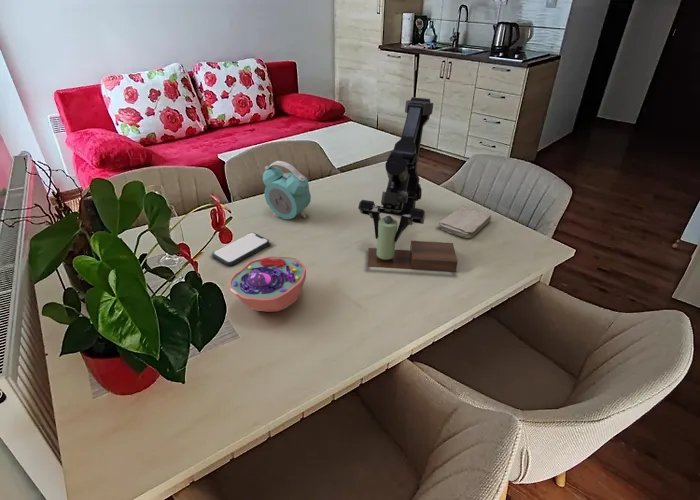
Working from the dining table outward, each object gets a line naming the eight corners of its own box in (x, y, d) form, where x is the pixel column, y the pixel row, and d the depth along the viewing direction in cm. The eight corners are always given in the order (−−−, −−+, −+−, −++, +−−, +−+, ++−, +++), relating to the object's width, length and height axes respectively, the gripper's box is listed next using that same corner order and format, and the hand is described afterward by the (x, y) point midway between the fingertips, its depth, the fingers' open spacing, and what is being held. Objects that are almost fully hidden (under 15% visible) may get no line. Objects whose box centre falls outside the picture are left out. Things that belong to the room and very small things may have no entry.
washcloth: (436, 229, 145) (437, 221, 144) (459, 210, 158) (461, 202, 156) (469, 241, 140) (470, 233, 138) (490, 220, 152) (492, 213, 150)
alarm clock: (316, 216, 151) (315, 162, 140) (299, 227, 144) (297, 171, 133) (278, 203, 158) (274, 151, 147) (260, 213, 151) (255, 159, 141)
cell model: (322, 299, 113) (321, 263, 107) (258, 337, 101) (254, 299, 95) (282, 271, 123) (279, 237, 117) (219, 303, 111) (213, 266, 104)
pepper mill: (385, 247, 130) (388, 210, 123) (397, 255, 127) (401, 217, 120) (372, 253, 127) (375, 215, 120) (385, 261, 124) (388, 222, 117)
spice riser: (368, 252, 133) (369, 238, 130) (450, 256, 132) (453, 242, 129) (367, 270, 124) (368, 256, 122) (455, 276, 123) (457, 261, 120)
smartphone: (230, 268, 124) (271, 244, 134) (229, 263, 123) (270, 240, 133) (210, 257, 128) (252, 235, 139) (209, 252, 127) (251, 231, 138)
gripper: (361, 173, 120) (348, 226, 117) (428, 183, 116) (417, 238, 113) (367, 188, 131) (355, 237, 128) (429, 197, 126) (418, 248, 123)
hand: (385, 240), depth 123 cm, fingers closed on pepper mill, 5 cm apart
